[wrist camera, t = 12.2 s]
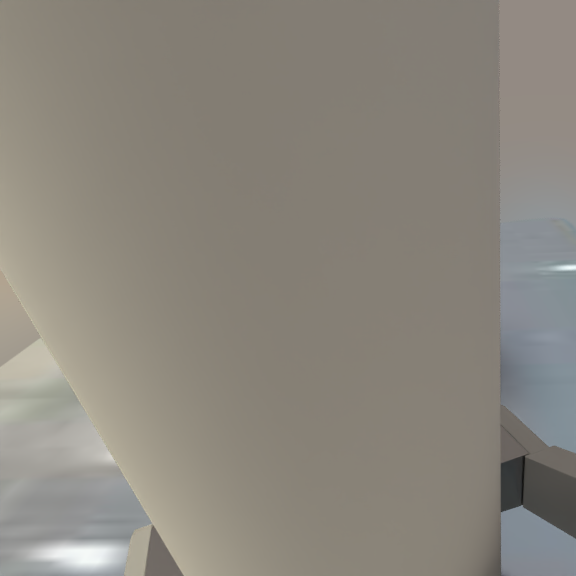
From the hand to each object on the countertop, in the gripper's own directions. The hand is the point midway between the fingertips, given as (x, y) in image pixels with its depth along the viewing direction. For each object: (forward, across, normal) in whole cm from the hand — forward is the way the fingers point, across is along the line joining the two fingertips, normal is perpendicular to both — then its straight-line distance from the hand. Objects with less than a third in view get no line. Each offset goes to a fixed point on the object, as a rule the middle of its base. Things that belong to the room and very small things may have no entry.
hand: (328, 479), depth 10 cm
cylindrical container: (-1, 0, +14) cm, 14 cm away
